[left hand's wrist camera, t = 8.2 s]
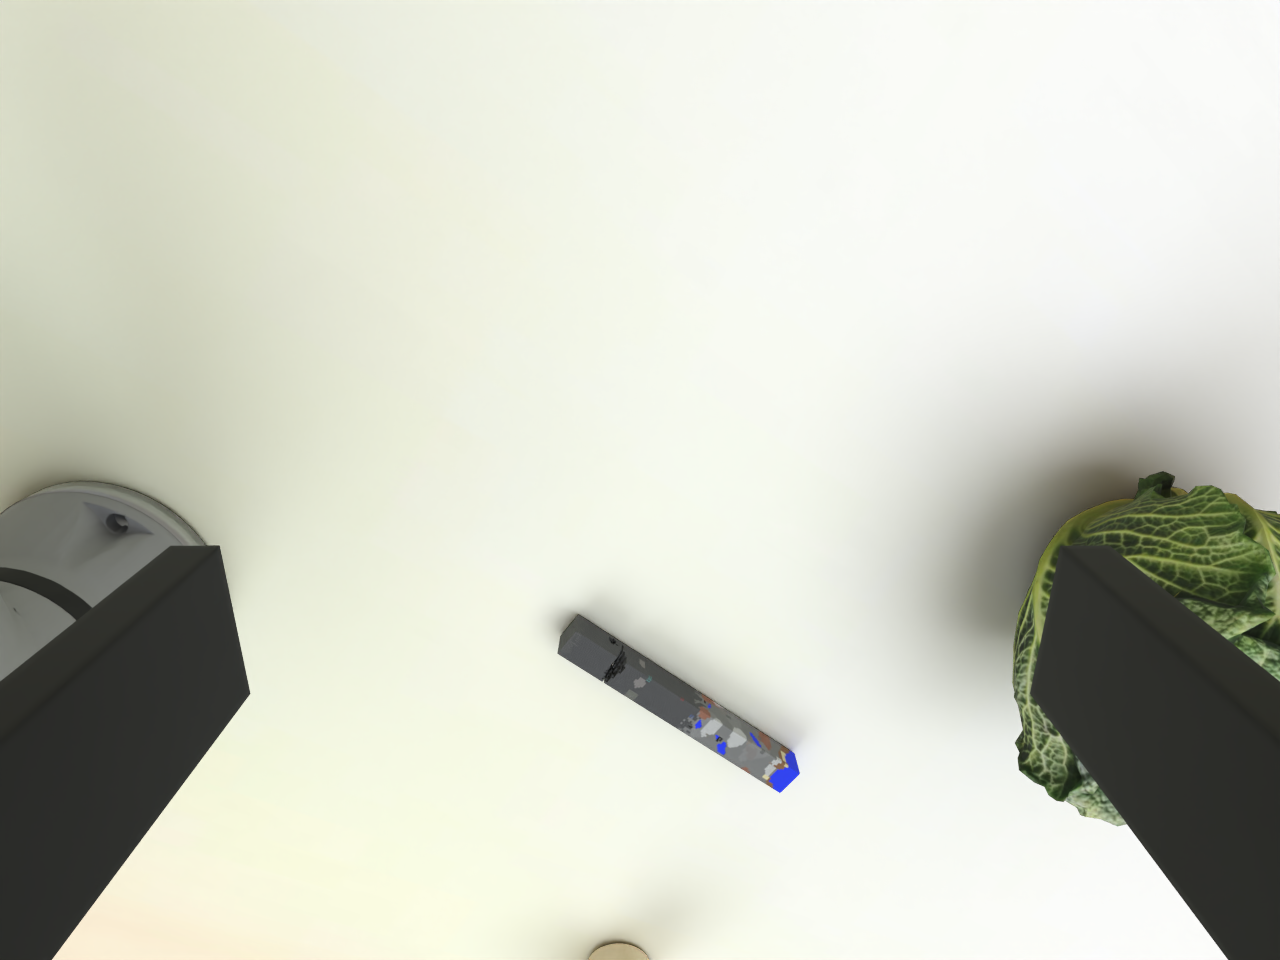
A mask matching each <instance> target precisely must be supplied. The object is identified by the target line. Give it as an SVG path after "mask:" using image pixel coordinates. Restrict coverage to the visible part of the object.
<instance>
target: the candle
mask: <svg viewBox="0 0 1280 960" xmlns="http://www.w3.org/2000/svg"><path fill="white" fill-rule="evenodd" d="M588 960H649V958H648V956H647V955H646V954H645V953H644V952H643V951H642V950H640V949H639V948H637V947H635V946H632V945H628V944H622V943H616V944H609V945H605V946H603V947H600V948H598V949H597V950H596V951H594V952H593V953H592V954H591V956H590V957H589V959H588Z"/></svg>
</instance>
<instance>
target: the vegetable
mask: <svg viewBox="0 0 1280 960" xmlns="http://www.w3.org/2000/svg"><path fill="white" fill-rule="evenodd" d="M1174 479H1175V476H1173V475H1171V474H1169V473H1166V472H1163V471H1162V472H1159V473H1156V474H1153V475H1149V476H1148V477H1147V478H1146V479H1143V478H1139V483H1138V492H1137V494H1136V496H1135V499H1119V500H1114V501H1108V502H1105V503H1103V504H1100V505H1098V506H1095V507H1093V508H1090V509H1088V510H1085V511H1083V512H1081V513H1080V514H1078V515H1076V516H1074V517H1073V518H1071V519H1069V520H1068V521H1067V522H1066V523H1065V524H1064V525H1063V526H1062V527H1061V528H1060V529H1059V531H1058V532H1057V533H1056V535H1055V536H1054V537H1053V539H1052V540H1051V541H1050V543H1049V544H1048V546H1047V548H1046V549H1045V551H1044V553H1043V555H1042V556H1041V558H1040V560H1039V564H1038V568H1037V572H1036V574H1035V577H1034V580H1033V582H1032V585H1031V586H1030V588H1029V590H1028V592H1027V596H1026V598H1025V600H1024V603H1023V605H1022V607H1021V609H1020V611H1019V614H1018V621H1017V627H1016V633H1015V639H1014V646H1013V681H1012V683H1013V687H1014V691H1015V693H1014V698H1015V700H1016V702H1017V704H1018V707H1019V712H1020V717H1021V722H1022V727H1023V731H1022V732H1021V734H1020V735H1019V737H1018V739H1017V740H1016V742H1015V744H1016V746H1017V748H1018V750H1019V752H1020V753H1019V756H1018V765H1019V770H1020V771H1021V772H1022V773H1023V774H1025V775H1026V776H1027V777H1028V778H1030V779H1031V780H1032V781H1033V782H1035V783H1037V784H1039V785H1042V786H1044V787H1045V789H1046V791H1047V793H1048V795H1049V796H1050V797H1052V798H1053V799H1055V800H1056V801H1062V802H1064V801H1067V802H1068V803H1070V804H1072V805H1073V806H1075V807H1076V808H1077V809H1078V811H1079V813H1080V815H1082V816H1085V817H1091V818H1097V819H1102V820H1104V821H1106V822H1108V823H1111V824H1113V825H1116V826H1121V825H1125V824H1127V823H1126V822H1125V821H1124V819H1123V818H1122V817H1121V815H1120V814H1119V813H1118V811H1117V810H1116V809H1115V807H1114V806H1113V805H1112V803H1111V802H1110V801H1109V799H1108V798H1107V797H1106V795H1105V794H1104V793H1103V791H1102V790H1101V789H1100V787H1099V786H1098V784H1097V783H1096V782H1095V780H1094V779H1093V778H1092V776H1091V775H1090V774H1089V772H1088V771H1087V770H1086V768H1085V767H1084V766H1083V764H1082V763H1081V762H1080V760H1079V759H1078V758H1077V756H1076V755H1075V754H1074V752H1073V751H1072V750H1071V748H1070V747H1069V746H1068V744H1067V743H1066V742H1065V740H1064V739H1063V738H1062V736H1061V735H1060V734H1059V732H1058V731H1057V730H1056V728H1055V727H1054V726H1053V724H1052V723H1051V722H1050V720H1049V719H1048V717H1047V716H1046V715H1045V713H1044V712H1043V711H1042V709H1041V708H1040V707H1039V705H1038V704H1037V703H1036V701H1035V700H1034V699H1033V697H1032V696H1031V695H1030V690H1031V685H1032V680H1033V676H1034V671H1035V666H1036V661H1037V656H1038V652H1039V647H1040V642H1041V637H1042V632H1043V627H1044V623H1045V618H1046V613H1047V608H1048V603H1049V599H1050V594H1051V589H1052V584H1053V579H1054V574H1055V570H1056V565H1057V560H1058V555H1059V550H1060V546H1111V547H1112V548H1113V549H1114V550H1116V551H1117V552H1118V553H1119V554H1121V555H1122V556H1123V557H1124V558H1126V559H1127V560H1128V561H1129V562H1131V563H1132V564H1133V565H1134V566H1136V567H1137V568H1138V569H1139V570H1141V571H1142V572H1143V573H1144V574H1146V575H1147V576H1148V577H1150V578H1151V579H1152V580H1153V581H1155V582H1156V583H1157V584H1158V585H1160V586H1161V587H1162V588H1163V589H1165V590H1166V591H1167V592H1168V593H1170V594H1171V595H1172V596H1173V597H1175V598H1176V599H1177V600H1178V601H1180V602H1181V603H1182V604H1183V605H1185V606H1186V607H1187V608H1188V609H1190V610H1191V611H1192V612H1193V613H1195V614H1196V615H1197V616H1198V617H1200V618H1201V619H1202V620H1203V621H1205V622H1206V623H1207V624H1208V625H1210V626H1211V627H1212V628H1213V629H1215V630H1216V631H1217V632H1219V633H1220V634H1221V635H1222V636H1224V637H1225V638H1226V639H1227V640H1229V641H1230V642H1231V643H1232V644H1234V645H1235V646H1236V647H1237V648H1239V649H1240V650H1241V651H1242V652H1244V653H1245V654H1246V655H1247V656H1249V657H1250V658H1251V659H1252V660H1254V661H1255V662H1256V663H1257V664H1259V665H1260V666H1261V667H1262V668H1264V669H1265V670H1266V671H1267V672H1269V673H1270V674H1271V675H1272V676H1274V677H1275V678H1276V679H1277V680H1279V681H1280V514H1277V512H1276V511H1263V510H1257V509H1254V508H1253V507H1251V506H1250V505H1249V504H1248V503H1246V502H1245V501H1244V500H1242V499H1241V498H1240V497H1238V496H1237V495H1236V494H1231V493H1223V492H1222V490H1221V489H1219V488H1216V487H1214V486H1211V485H1209V486H1195V487H1194V488H1193V489H1192V490H1191V491H1190V492H1189V493H1187V492H1186V491H1184V490H1183V489H1180V488H1176V487H1172V484H1173V482H1174Z"/></svg>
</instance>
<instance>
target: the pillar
mask: <svg viewBox="0 0 1280 960" xmlns="http://www.w3.org/2000/svg"><path fill="white" fill-rule="evenodd" d="M558 654H559V655H561V656H562V657H564V658H565V659H567V660H569V661H570V662H572V663H573V664H575V665H577V666H578V667H580V668H581V669H583V670H585V671H586V672H588V673H589V674H591V675H593V676H594V677H596V678H597V679H599V680H601V681H603V680H604V683H605V684H607V685H609V686H610V687H612V688H613V689H615V690H617V691H618V692H620V693H621V694H623V695H625V696H626V697H628V698H629V699H631V700H632V701H634V702H636V703H637V704H639V705H640V706H642V707H644V708H645V709H647V710H648V711H650V712H652V713H653V714H655V715H656V716H658V717H660V718H661V719H663V720H664V721H666V722H668V723H669V724H671V725H672V726H674V727H676V728H677V729H679V730H680V731H682V732H684V733H685V734H687V735H688V736H690V737H692V738H693V739H695V740H696V741H698V742H700V743H701V744H703V745H704V746H706V747H708V748H709V749H711V750H712V751H714V752H716V753H717V754H719V755H720V756H722V757H724V758H725V759H727V760H728V761H730V762H731V763H733V764H735V765H736V766H738V767H739V768H741V769H743V770H744V771H746V772H747V773H749V774H751V775H752V776H754V777H755V778H757V779H759V780H760V781H762V782H763V783H765V784H767V785H768V786H770V787H771V788H773V789H775V790H776V791H778V792H779V793H780V792H782V791H783V790H784V789H785V788H786V787H787V786H788V785H789V784H790V783H791V782H792V781H793V780H794V779H795V778H796V777H797V776H798V775H799V774H800V773H799V769H798V765H797V761H796V758H795V754H794V753H793V752H792V751H790V750H788V749H787V748H785V747H784V746H782V745H781V744H779V743H778V742H776V741H774V740H773V739H771V738H770V737H768V736H767V735H765V734H764V733H762V732H760V731H759V730H757V729H756V728H754V727H753V726H751V725H750V724H748V723H746V722H745V721H743V720H742V719H740V718H739V717H737V716H736V715H734V714H732V713H731V712H729V711H728V710H726V709H725V708H723V707H722V706H720V705H719V704H717V703H715V702H714V701H712V700H711V699H709V698H708V697H706V696H705V695H703V694H701V693H700V692H698V691H697V690H695V689H694V688H692V687H691V686H689V685H687V684H686V683H684V682H683V681H681V680H680V679H678V678H677V677H675V676H673V675H672V674H670V673H669V672H667V671H666V670H664V669H663V668H661V667H659V666H658V665H656V664H655V663H653V662H652V661H650V660H649V659H647V658H645V657H644V656H642V655H641V654H639V653H638V652H636V651H635V650H633V649H631V648H630V647H628V646H627V645H625V644H624V643H622V642H621V641H619V640H617V639H616V638H614V637H613V636H611V635H610V634H608V633H607V632H605V631H603V630H602V629H600V628H599V627H597V626H596V625H594V624H593V623H591V622H589V621H588V620H586V619H585V618H583V617H582V616H580V615H579V614H578V616H577V617H576V618H575V619H574V620H573V622H572V623H571V624H570V625H569V626H568V628H567V629H566V630H565V631H564V633H563V634H562V635H561V636H560V642H559V648H558ZM613 662H614V665H613V666H612V663H613Z"/></svg>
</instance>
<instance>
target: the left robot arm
mask: <svg viewBox="0 0 1280 960" xmlns="http://www.w3.org/2000/svg"><path fill="white" fill-rule="evenodd" d="M249 695H250V690H249V685H248V680H247V676H246V671H245V666H244V661H243V656H242V652H241V647H240V642H239V637H238V632H237V627H236V623H235V618H234V613H233V608H232V603H231V599H230V594H229V589H228V584H227V579H226V574H225V570H224V565H223V560H222V555H221V550H220V546H206V545H205V544H204V543H203V541H202V540H201V539H200V537H199V536H198V535H197V534H196V533H195V532H194V530H193V529H192V528H191V527H190V526H189V525H188V524H187V523H186V522H184V521H183V520H182V519H181V518H180V517H179V516H177V515H176V514H175V513H173V512H172V511H171V510H169V509H168V508H166V507H165V506H163V505H162V504H160V503H158V502H157V501H155V500H153V499H151V498H149V497H147V496H145V495H143V494H140V493H138V492H135V491H133V490H130V489H127V488H124V487H120V486H116V485H112V484H106V483H100V482H87V481H85V482H69V483H62V484H58V485H53V486H50V487H47V488H44V489H42V490H40V491H38V492H36V493H34V494H32V495H30V496H28V497H26V498H24V499H22V500H20V501H18V502H17V503H15V504H13V505H12V506H10V507H9V508H7V509H6V510H5V511H3V512H2V513H1V514H0V960H52V959H53V957H54V956H55V955H56V953H57V952H58V951H59V949H60V948H61V947H62V945H63V944H64V943H65V941H66V940H67V939H68V937H69V936H70V935H71V933H72V932H73V931H74V929H75V928H76V927H77V925H78V924H79V923H80V921H81V920H82V919H83V917H84V916H85V914H86V913H87V912H88V910H89V909H90V908H91V906H92V905H93V904H94V902H95V901H96V900H97V898H98V897H99V896H100V894H101V893H102V892H103V890H104V889H105V888H106V886H107V885H108V884H109V882H110V881H111V880H112V878H113V877H114V876H115V874H116V873H117V872H118V870H119V869H120V868H121V866H122V865H123V864H124V862H125V861H126V860H127V858H128V857H129V856H130V854H131V853H132V851H133V850H134V849H135V847H136V846H137V845H138V843H139V842H140V841H141V839H142V838H143V837H144V835H145V834H146V833H147V831H148V830H149V829H150V827H151V826H152V825H153V823H154V822H155V821H156V819H157V818H158V817H159V815H160V814H161V813H162V811H163V810H164V809H165V807H166V806H167V805H168V803H169V802H170V801H171V799H172V798H173V797H174V795H175V794H176V793H177V791H178V790H179V789H180V787H181V786H182V784H183V783H184V782H185V780H186V779H187V778H188V776H189V775H190V774H191V772H192V771H193V770H194V768H195V767H196V766H197V764H198V763H199V762H200V760H201V759H202V758H203V756H204V755H205V754H206V752H207V751H208V750H209V748H210V747H211V746H212V744H213V743H214V742H215V740H216V739H217V738H218V736H219V735H220V734H221V732H222V731H223V730H224V728H225V727H226V726H227V724H228V723H229V722H230V720H231V719H232V717H233V716H234V715H235V713H236V712H237V711H238V709H239V708H240V707H241V705H242V704H243V703H244V701H245V700H246V699H247V697H248V696H249ZM1030 695H1031V696H1032V697H1033V699H1034V700H1035V701H1036V703H1037V704H1038V705H1039V707H1040V708H1041V709H1042V711H1043V712H1044V713H1045V715H1046V716H1047V717H1048V719H1049V720H1050V722H1051V723H1052V724H1053V726H1054V727H1055V728H1056V730H1057V731H1058V732H1059V734H1060V735H1061V736H1062V738H1063V739H1064V740H1065V742H1066V743H1067V744H1068V746H1069V747H1070V748H1071V750H1072V751H1073V752H1074V754H1075V755H1076V756H1077V758H1078V759H1079V760H1080V762H1081V763H1082V764H1083V766H1084V767H1085V768H1086V770H1087V771H1088V772H1089V774H1090V775H1091V776H1092V778H1093V779H1094V780H1095V782H1096V783H1097V784H1098V786H1099V787H1100V789H1101V790H1102V791H1103V793H1104V794H1105V795H1106V797H1107V798H1108V799H1109V801H1110V802H1111V803H1112V805H1113V806H1114V807H1115V809H1116V810H1117V811H1118V813H1119V814H1120V815H1121V817H1122V818H1123V819H1124V821H1125V822H1126V823H1127V825H1128V826H1129V827H1130V829H1131V830H1132V831H1133V833H1134V834H1135V835H1136V837H1137V838H1138V839H1139V841H1140V842H1141V843H1142V845H1143V846H1144V847H1145V849H1146V850H1147V851H1148V853H1149V854H1150V856H1151V857H1152V858H1153V860H1154V861H1155V862H1156V864H1157V865H1158V866H1159V868H1160V869H1161V870H1162V872H1163V873H1164V874H1165V876H1166V877H1167V878H1168V880H1169V881H1170V882H1171V884H1172V885H1173V886H1174V888H1175V889H1176V890H1177V892H1178V893H1179V894H1180V896H1181V897H1182V898H1183V900H1184V901H1185V902H1186V904H1187V905H1188V906H1189V908H1190V909H1191V910H1192V912H1193V913H1194V914H1195V916H1196V917H1197V919H1198V920H1199V921H1200V923H1201V924H1202V925H1203V927H1204V928H1205V929H1206V931H1207V932H1208V933H1209V935H1210V936H1211V937H1212V939H1213V940H1214V941H1215V943H1216V944H1217V945H1218V947H1219V948H1220V949H1221V951H1222V952H1223V953H1224V955H1225V956H1226V957H1227V959H1228V960H1280V681H1279V680H1277V679H1276V678H1275V677H1274V676H1272V675H1271V674H1270V673H1269V672H1267V671H1266V670H1265V669H1264V668H1262V667H1261V666H1260V665H1259V664H1257V663H1256V662H1255V661H1254V660H1252V659H1251V658H1250V657H1249V656H1247V655H1246V654H1245V653H1244V652H1242V651H1241V650H1240V649H1239V648H1237V647H1236V646H1235V645H1234V644H1232V643H1231V642H1230V641H1229V640H1227V639H1226V638H1225V637H1224V636H1222V635H1221V634H1220V633H1219V632H1217V631H1216V630H1215V629H1213V628H1212V627H1211V626H1210V625H1208V624H1207V623H1206V622H1205V621H1203V620H1202V619H1201V618H1200V617H1198V616H1197V615H1196V614H1195V613H1193V612H1192V611H1191V610H1190V609H1188V608H1187V607H1186V606H1185V605H1183V604H1182V603H1181V602H1180V601H1178V600H1177V599H1176V598H1175V597H1173V596H1172V595H1171V594H1170V593H1168V592H1167V591H1166V590H1165V589H1163V588H1162V587H1161V586H1160V585H1158V584H1157V583H1156V582H1155V581H1153V580H1152V579H1151V578H1150V577H1148V576H1147V575H1146V574H1144V573H1143V572H1142V571H1141V570H1139V569H1138V568H1137V567H1136V566H1134V565H1133V564H1132V563H1131V562H1129V561H1128V560H1127V559H1126V558H1124V557H1123V556H1122V555H1121V554H1119V553H1118V552H1117V551H1116V550H1114V549H1113V548H1112V547H1111V546H1060V550H1059V555H1058V560H1057V565H1056V570H1055V574H1054V579H1053V584H1052V589H1051V594H1050V599H1049V603H1048V608H1047V613H1046V618H1045V623H1044V627H1043V632H1042V637H1041V642H1040V647H1039V652H1038V656H1037V661H1036V666H1035V671H1034V676H1033V680H1032V685H1031V690H1030Z"/></svg>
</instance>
